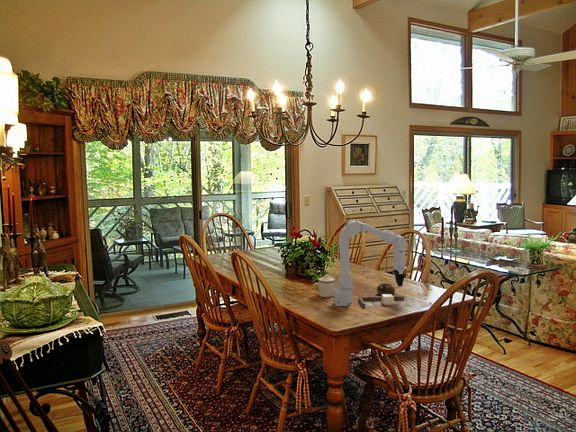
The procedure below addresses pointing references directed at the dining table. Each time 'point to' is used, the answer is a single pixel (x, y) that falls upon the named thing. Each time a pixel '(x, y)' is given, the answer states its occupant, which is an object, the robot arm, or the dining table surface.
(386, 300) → the cream block
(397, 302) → the trap box
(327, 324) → the dining table surface
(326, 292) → the teacup with lid
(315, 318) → the dining table surface
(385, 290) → the decorative turtle
